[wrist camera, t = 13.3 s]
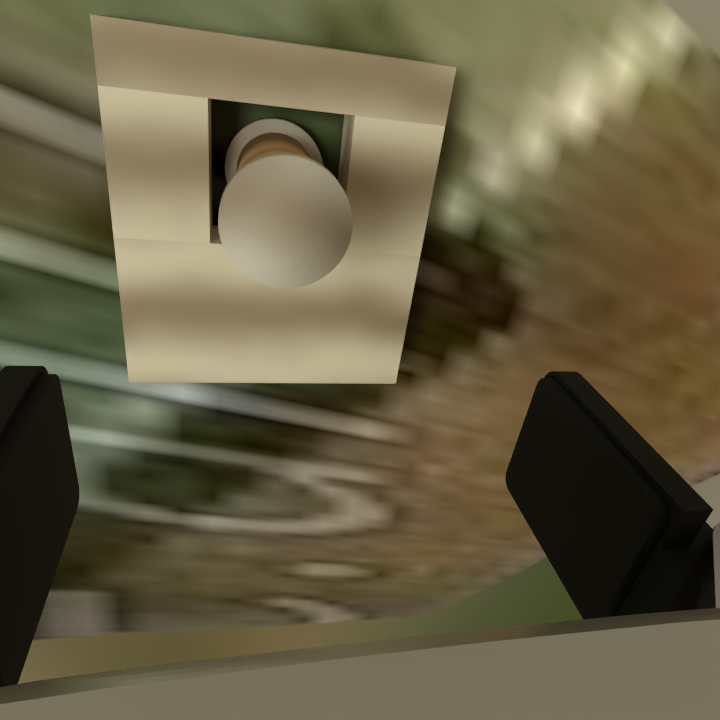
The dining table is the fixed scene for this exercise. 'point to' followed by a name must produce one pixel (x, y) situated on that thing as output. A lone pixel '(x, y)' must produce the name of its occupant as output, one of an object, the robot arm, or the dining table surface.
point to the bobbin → (282, 206)
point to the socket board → (201, 238)
